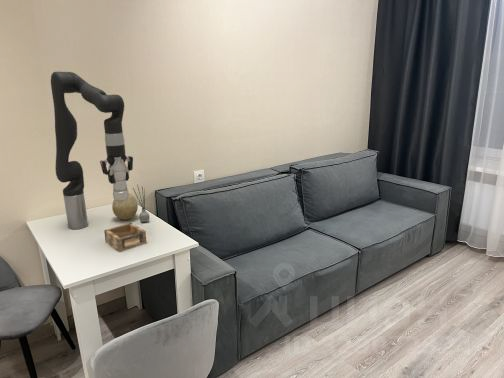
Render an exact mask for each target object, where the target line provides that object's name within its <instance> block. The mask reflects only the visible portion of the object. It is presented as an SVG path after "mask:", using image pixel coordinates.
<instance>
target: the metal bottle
mask: <svg viewBox="0 0 504 378" xmlns="http://www.w3.org/2000/svg"><path fill="white" fill-rule="evenodd" d="M114 160H117V164H116V165H114V169H113V174H112V175H113V180H114V184H112V186H113V187H112V188H113V189H112V190H113V191H112V196H113V197H112V198H113V200H114V199H115V200H116V201H125V200H127V199H128V198H129V193H130V192H129V188H128V184H127V181H126V166H127V165H126V166H125V165H124V164H123V163H121V162H120V160H121V156H119V157H114ZM110 168H112V166H110Z"/></svg>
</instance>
